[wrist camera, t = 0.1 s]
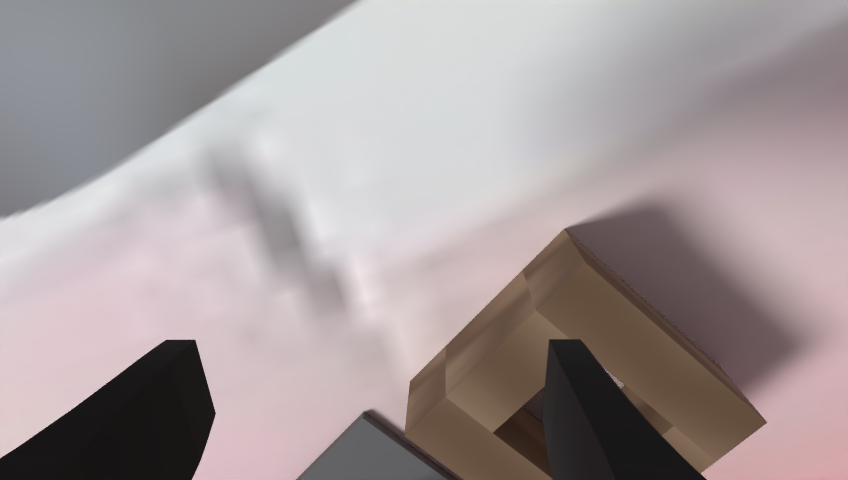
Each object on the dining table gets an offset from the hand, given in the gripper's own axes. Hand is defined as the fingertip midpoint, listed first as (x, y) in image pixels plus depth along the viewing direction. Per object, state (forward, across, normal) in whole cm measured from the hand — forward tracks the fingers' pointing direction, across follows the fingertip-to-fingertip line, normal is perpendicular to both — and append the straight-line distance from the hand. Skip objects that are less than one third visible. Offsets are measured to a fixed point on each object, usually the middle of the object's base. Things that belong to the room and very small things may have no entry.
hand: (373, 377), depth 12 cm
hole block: (+9, -6, +8) cm, 14 cm away
